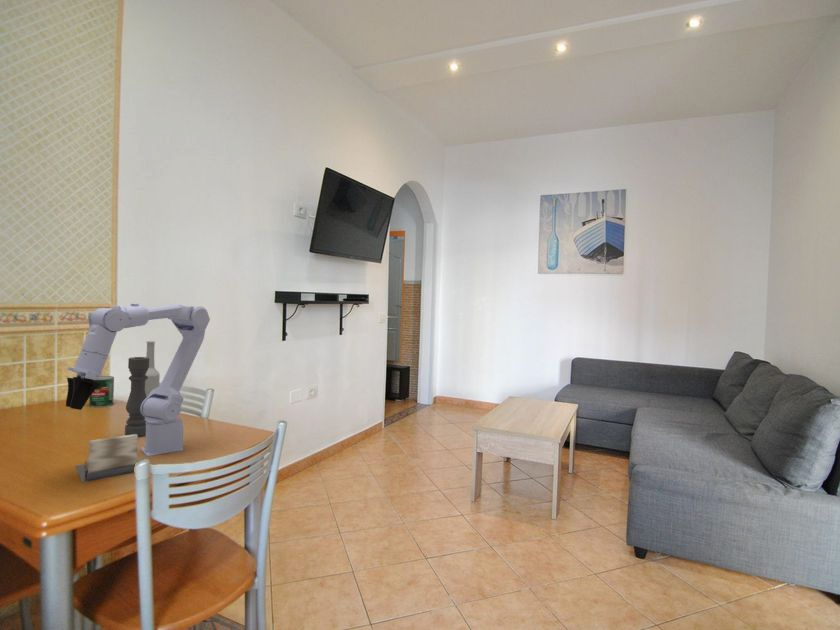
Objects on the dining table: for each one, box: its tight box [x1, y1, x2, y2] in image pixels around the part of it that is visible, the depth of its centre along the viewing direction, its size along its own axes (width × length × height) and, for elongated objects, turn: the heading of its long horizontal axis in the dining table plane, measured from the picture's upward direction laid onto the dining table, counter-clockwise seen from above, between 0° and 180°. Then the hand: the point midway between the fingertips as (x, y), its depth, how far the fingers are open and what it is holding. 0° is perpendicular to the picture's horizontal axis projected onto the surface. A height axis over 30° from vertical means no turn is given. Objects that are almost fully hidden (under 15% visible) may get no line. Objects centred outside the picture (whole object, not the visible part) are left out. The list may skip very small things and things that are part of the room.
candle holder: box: [124, 356, 149, 439], centre depth 144 cm, size 6×6×25 cm
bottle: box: [145, 340, 161, 397], centre depth 165 cm, size 7×7×28 cm
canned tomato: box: [88, 375, 115, 408], centre depth 178 cm, size 8×8×11 cm
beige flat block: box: [88, 434, 139, 473], centre depth 114 cm, size 10×2×9 cm, turn 134°
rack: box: [74, 463, 135, 484], centre depth 117 cm, size 13×13×2 cm
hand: (73, 408), depth 109 cm, fingers open, 7 cm apart
